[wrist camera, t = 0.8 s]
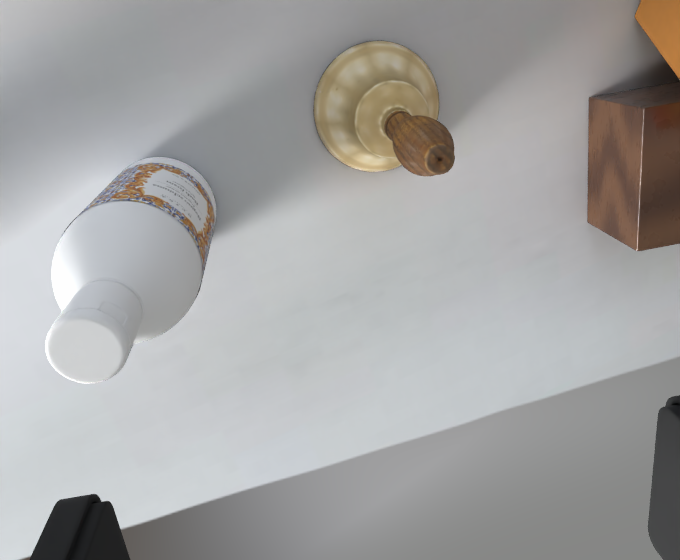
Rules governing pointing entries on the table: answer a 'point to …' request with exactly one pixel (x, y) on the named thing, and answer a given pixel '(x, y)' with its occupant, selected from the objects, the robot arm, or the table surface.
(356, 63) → the hand bell
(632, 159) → the walnut box
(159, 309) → the bath foam
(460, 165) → the table surface
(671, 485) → the robot arm
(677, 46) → the container
